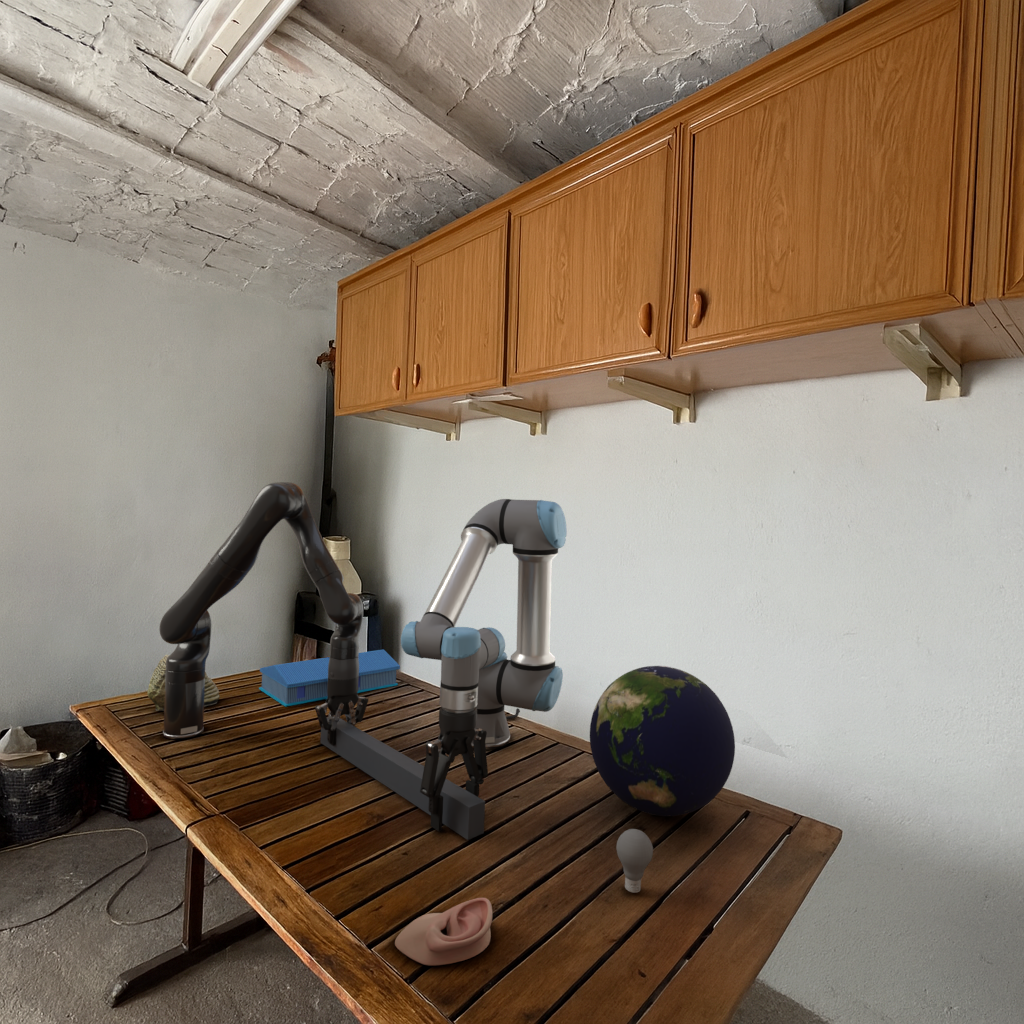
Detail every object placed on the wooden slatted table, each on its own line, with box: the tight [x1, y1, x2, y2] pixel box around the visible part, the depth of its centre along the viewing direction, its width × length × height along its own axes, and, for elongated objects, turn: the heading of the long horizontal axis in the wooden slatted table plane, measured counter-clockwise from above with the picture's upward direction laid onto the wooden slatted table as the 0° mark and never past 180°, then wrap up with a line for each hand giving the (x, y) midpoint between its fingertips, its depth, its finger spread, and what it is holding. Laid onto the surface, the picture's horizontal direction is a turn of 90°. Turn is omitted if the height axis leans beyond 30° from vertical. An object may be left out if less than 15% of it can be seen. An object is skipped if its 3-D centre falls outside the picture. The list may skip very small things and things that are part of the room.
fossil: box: [147, 654, 221, 712], centre depth 185 cm, size 9×18×15 cm, turn 132°
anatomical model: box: [394, 897, 493, 967], centre depth 92 cm, size 13×4×12 cm
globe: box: [589, 665, 736, 817], centre depth 135 cm, size 30×30×30 cm
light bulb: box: [615, 828, 654, 894], centre depth 106 cm, size 6×6×10 cm
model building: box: [258, 649, 401, 707], centre depth 208 cm, size 39×24×10 cm, turn 132°
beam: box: [320, 716, 486, 841], centre depth 142 cm, size 60×4×6 cm, turn 44°
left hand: (340, 741), depth 159 cm, fingers closed on beam, 4 cm apart
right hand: (453, 820), depth 126 cm, fingers open, 8 cm apart
